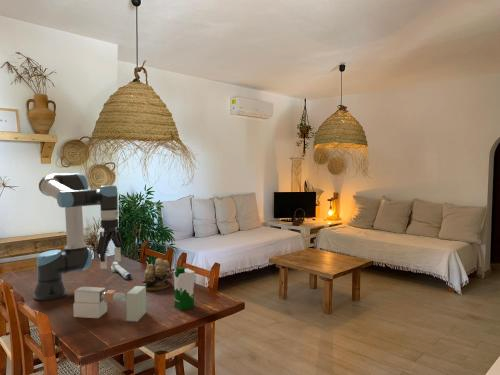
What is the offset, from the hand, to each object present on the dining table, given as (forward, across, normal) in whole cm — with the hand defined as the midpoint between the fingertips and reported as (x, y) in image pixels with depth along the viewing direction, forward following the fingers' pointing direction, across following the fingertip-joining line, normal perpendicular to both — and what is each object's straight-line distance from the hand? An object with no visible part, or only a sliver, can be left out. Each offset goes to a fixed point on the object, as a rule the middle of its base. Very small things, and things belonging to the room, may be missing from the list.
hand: (111, 264), depth 175 cm
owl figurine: (+23, +40, -8) cm, 47 cm away
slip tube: (+17, -1, +3) cm, 17 cm away
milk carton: (+24, +13, -30) cm, 41 cm away
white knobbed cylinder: (+23, +60, +24) cm, 68 cm away
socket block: (+24, 0, -12) cm, 27 cm away
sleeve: (+23, 0, +11) cm, 26 cm away
